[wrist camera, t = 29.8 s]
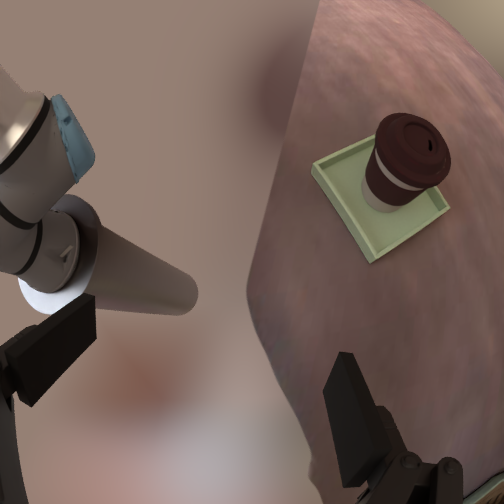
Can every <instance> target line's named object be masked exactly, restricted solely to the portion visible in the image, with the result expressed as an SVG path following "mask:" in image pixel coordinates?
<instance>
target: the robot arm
mask: <svg viewBox="0 0 504 504" xmlns="http://www.w3.org/2000/svg"><path fill="white" fill-rule="evenodd" d="M94 161H95V153H94V151H93V148H92V146H91V144H90V142H89V140H88V138H87V136H86V135H85V133H84V131H83V129H82V127H81V126H80V124H79V122H78V121H77V119H76V117H75V115H74V114H73V112H72V110H71V108H70V107H69V105H68V104H67V102H66V101H65V99H64V98H63V97H62V95H60V94H58V95H56V96H53V97H52V98H51V100H48V99H47V97H46V96H45V95H44V94H43V93H42V92H40V91H37V92H27V93H26V92H24V91H23V90H22V89H21V88H20V86H19V85H18V84H17V83H16V82H15V81H14V80H13V79H12V77H11V76H10V75H9V74H8V73H7V72H6V70H5V69H4V68H3V67H2V66H1V65H0V271H1V272H5V273H9V274H13V275H16V276H18V277H19V278H20V279H22V280H23V281H25V282H26V283H27V284H28V285H29V286H30V287H32V288H33V289H35V290H37V291H40V292H44V293H53V292H56V291H58V290H60V289H61V288H63V287H64V286H65V285H66V284H67V283H68V281H69V280H70V279H71V277H72V275H73V273H74V271H75V269H76V267H77V264H78V260H79V256H80V249H81V238H80V232H79V229H78V226H77V224H76V222H75V221H74V219H73V218H72V217H71V216H69V215H68V214H66V213H64V212H62V211H59V210H50V209H51V207H52V206H53V205H54V204H55V203H56V202H57V201H58V200H59V199H60V198H61V197H62V196H63V195H64V194H65V193H66V192H67V191H68V190H69V189H70V188H71V187H72V186H73V185H74V184H75V183H76V184H77V183H78V182H79V179H80V178H81V177H82V176H83V175H84V174H85V173H86V172H87V171H88V170H89V169H90V168H91V167H92V166H93V164H94ZM96 339H97V337H96V315H95V296H92V295H89V294H86V293H83V294H81V295H80V296H78V297H77V298H76V299H74V300H73V301H71V302H70V303H68V304H67V305H65V306H64V307H63V308H61V309H60V310H58V311H57V312H55V313H54V314H53V315H51V316H50V317H48V318H47V319H46V320H44V321H43V322H42V323H40V324H39V325H32V326H29V327H26V328H25V329H23V330H22V331H20V332H19V333H18V334H16V335H15V336H14V337H12V338H11V339H9V340H8V341H7V342H5V343H4V344H3V345H1V346H0V504H29V503H28V499H27V495H26V491H25V487H24V482H23V477H22V472H21V466H20V460H19V453H18V447H17V438H16V429H15V428H16V427H15V413H14V399H13V395H12V394H13V393H14V392H15V391H17V394H18V397H19V399H20V401H22V402H24V403H25V404H27V405H28V406H30V407H33V405H34V404H35V403H36V402H37V401H38V400H39V399H40V397H42V396H43V394H44V393H45V392H46V391H47V390H48V389H49V388H50V387H51V386H52V385H53V384H54V383H55V381H56V380H57V379H58V378H59V377H60V376H61V375H62V374H63V373H64V372H65V371H66V370H67V369H68V368H69V367H70V366H71V364H73V362H74V361H75V360H76V359H77V358H78V357H79V356H80V355H81V354H82V353H83V352H84V351H85V350H86V349H87V348H88V347H89V346H90V345H91V344H92V343H93V342H94V341H95V340H96ZM323 395H324V399H325V404H326V408H327V413H328V417H329V422H330V426H331V431H332V435H333V440H334V445H335V450H336V454H337V459H338V464H339V469H340V474H341V479H342V485H343V488H351V487H360V486H361V485H362V484H363V483H364V482H365V481H366V480H367V483H368V486H369V487H368V488H367V489H366V490H365V491H364V492H363V493H362V494H361V495H360V496H359V497H358V498H357V499H358V501H357V502H356V503H355V504H463V469H462V465H461V464H460V462H459V461H458V460H456V459H455V458H452V457H444V458H442V459H441V460H440V461H439V462H438V463H437V464H431V463H423V462H422V460H421V459H420V457H419V456H418V455H416V454H415V453H413V452H410V451H407V449H406V447H405V444H404V442H403V440H402V437H401V435H400V433H399V431H398V429H397V426H396V424H395V423H394V419H393V417H392V415H391V413H390V412H389V411H388V410H387V409H386V408H385V407H384V406H376V405H375V403H374V401H373V398H372V396H371V394H370V391H369V389H368V387H367V384H366V382H365V380H364V377H363V375H362V373H361V371H360V368H359V366H358V364H357V362H356V359H355V357H354V355H353V353H347V352H339V354H338V356H337V359H336V361H335V364H334V366H333V368H332V371H331V373H330V376H329V378H328V380H327V383H326V385H325V387H324V389H323Z"/></svg>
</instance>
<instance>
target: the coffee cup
mask: <svg viewBox="0 0 504 504" xmlns="http://www.w3.org/2000/svg"><path fill="white" fill-rule="evenodd" d="M450 166H451V157H450V153H449V149H448V147H447V144H446V142H445V141H444V139H443V137H442V135H441V134H440V132H439V131H438V130H437V129H436V128H435V127H434V126H433V125H432V124H431V123H430V122H428V121H427V120H425V119H423V118H421V117H418V116H415V115H412V114H407V113H395V114H391V115H389V116H387V117H385V118H384V119H383V120H382V121H381V123H380V125H379V127H378V129H377V131H376V134H375V145H374V148H373V150H372V153H371V156H370V158H369V161H368V163H367V166H366V170H365V175H364V177H363V180H362V185H361V188H362V194H363V196H364V199H365V200H366V202H367V203H368V204H369V205H370V206H371V207H372V208H374V209H375V210H377V211H380V212H384V213H391V212H394V211H396V210H398V209H399V208H401V207H402V206H403V205H406V204H408V203H410V202H411V201H412V200H414V199H415V198H416V197H418V196H419V195H420V194H422V193H423V192H424V191H425V190H427V189H428V188H432V187H434V186H436V185H438V184H439V183H440V182H441V181H442V180H444V179H445V177H446V176H447V175H448V173H449V171H450Z"/></svg>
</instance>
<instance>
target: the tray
mask: <svg viewBox="0 0 504 504" xmlns="http://www.w3.org/2000/svg"><path fill="white" fill-rule="evenodd" d="M374 145H375V135H372V136H370V137H368V138H366V139H363V140H361V141H359V142H357V143H355V144H352V145H350V146H348V147H346V148H344V149H341V150H339V151H337V152H335V153H333V154H331V155H329V156H327V157H324V158H322V159H320V160H318V161H316V162H314V163H313V165H312V170H311V174H312V176H313V177H314V178H315V180H316V181H317V183H318V184H319V186H320V187H321V188H322V190H323V191H324V193H325V194H326V196H327V197H328V199H329V200H330V202H331V203H332V205H333V206H334V208H335V209H336V211H337V212H338V214H339V215H340V217H341V218H342V220H343V222H344V223H345V225H346V226H347V228H348V229H349V231H350V233H351V234H352V236H353V237H354V239H355V241H356V242H357V244H358V246H359V247H360V249H361V250H362V252H363V254H364V255H365V257H366V259H367V261H368V262H369V264H370V263H372V262H373V261H375V260H377V259H378V258H380V257H381V256H383V255H384V254H386V253H387V252H389V251H390V250H392V249H393V248H395V247H396V246H398V245H399V244H401V243H402V242H404V241H405V240H407V239H408V238H409V237H411V236H412V235H414V234H415V233H417V232H418V231H420V230H421V229H422V228H424V227H425V226H427V225H428V224H429V223H431V222H432V221H434V220H435V219H436V218H438V217H439V216H441V215H442V214H443V213H445V212H446V211H447V210H449V209H450V206H449V205H448V203H447V202H446V200H445V198H444V197H443V195H442V194H441V192H440V191H439V189H438V188H437V186H434V187H432V188H428V189H427V190H425V191H424V192H423V193H422V194H420V195H419V196H418V197H416V198H415V199H414V200H412V201H411V202H410V203H408V204H406V205H403V206H402V207H401V208H399V209H398V210H396V211H394V212H391V213H384V212H380V211H377V210H375V209H374V208H372V207H371V206H370V205H369V204H368V203H367V202H366V200H365V199H364V196H363V194H362V188H361V185H362V180H363V177H364V175H365V170H366V166H367V163H368V161H369V158H370V156H371V153H372V150H373V148H374Z"/></svg>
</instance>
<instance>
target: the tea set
mask: <svg viewBox="0 0 504 504" xmlns="http://www.w3.org/2000/svg"><path fill="white" fill-rule="evenodd" d="M463 504H504V473H501V474H499V475H497V476H495V477H493V478H492V479H490V480H489V481H488V482H487V483H485V484H484V485H483V486H482V487H480V488H479V489H478V490H477V491H475V492H474V493H473V494H471V495H470V496H469V497H467V498H466V499H464V500H463Z"/></svg>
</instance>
